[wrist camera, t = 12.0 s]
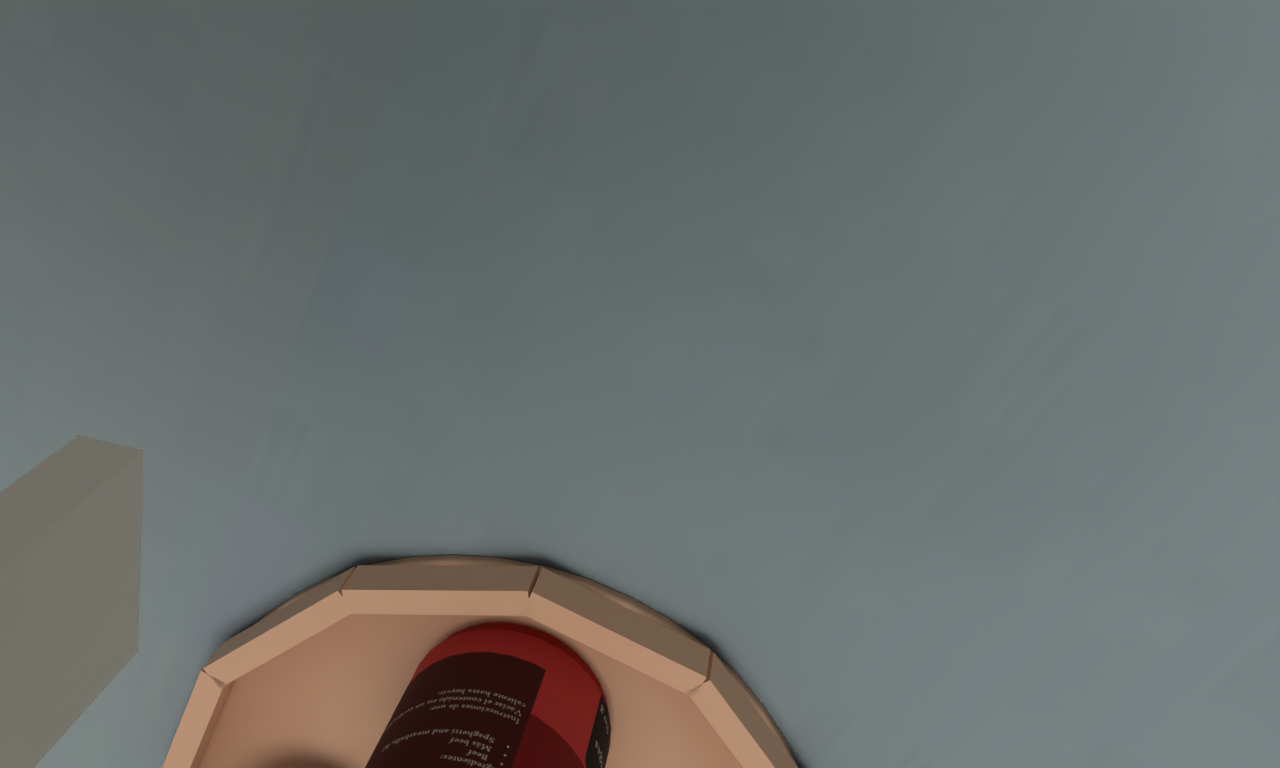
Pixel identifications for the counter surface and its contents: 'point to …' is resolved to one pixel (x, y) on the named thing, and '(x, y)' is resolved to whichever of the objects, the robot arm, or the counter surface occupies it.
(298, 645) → the tray
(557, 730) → the canned food
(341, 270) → the counter surface
